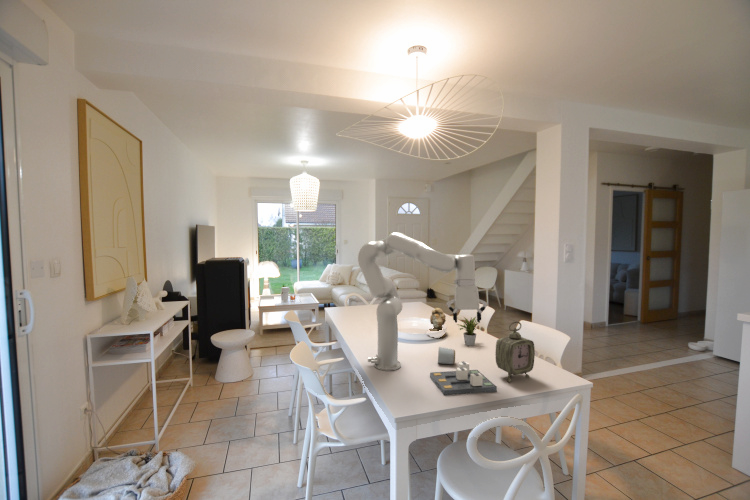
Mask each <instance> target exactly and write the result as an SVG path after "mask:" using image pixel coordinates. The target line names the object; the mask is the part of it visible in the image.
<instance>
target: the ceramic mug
mask: <svg viewBox="0 0 750 500" xmlns="http://www.w3.org/2000/svg"><path fill="white" fill-rule="evenodd" d="M455 363H456V350H455V349H453V348H448V347H442V346H439V347H438V356H437V364H442V365H455Z"/></svg>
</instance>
